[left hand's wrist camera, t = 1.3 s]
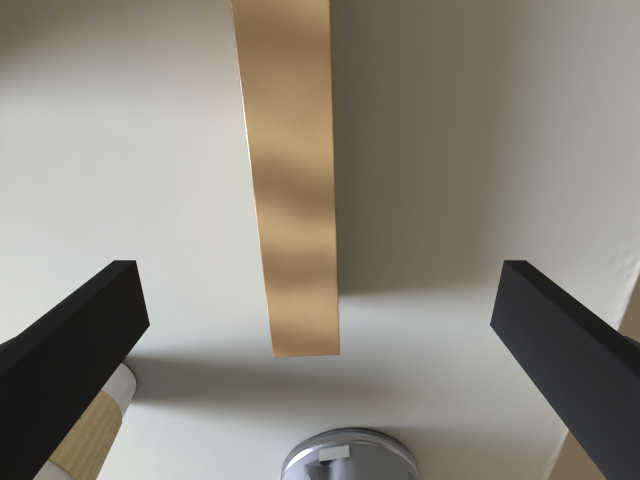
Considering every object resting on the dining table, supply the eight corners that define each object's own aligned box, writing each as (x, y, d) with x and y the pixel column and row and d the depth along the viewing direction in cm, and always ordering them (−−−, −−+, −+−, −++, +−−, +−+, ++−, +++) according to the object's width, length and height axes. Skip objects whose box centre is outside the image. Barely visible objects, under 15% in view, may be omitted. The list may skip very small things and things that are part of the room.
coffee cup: (69, 322, 31) (-132, 502, 17) (171, 368, 33) (63, 563, 19) (39, 391, 34) (-150, 590, 21) (133, 430, 36) (19, 634, 23)
